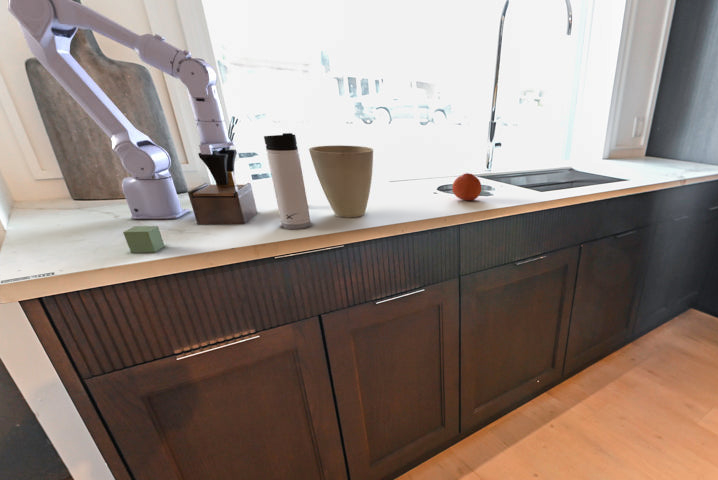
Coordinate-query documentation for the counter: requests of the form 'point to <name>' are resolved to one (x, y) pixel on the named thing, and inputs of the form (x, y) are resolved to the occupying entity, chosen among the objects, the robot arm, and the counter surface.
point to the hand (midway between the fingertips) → (226, 183)
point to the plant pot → (344, 177)
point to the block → (144, 239)
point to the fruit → (467, 187)
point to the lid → (220, 188)
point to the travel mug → (288, 180)
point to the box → (223, 206)
